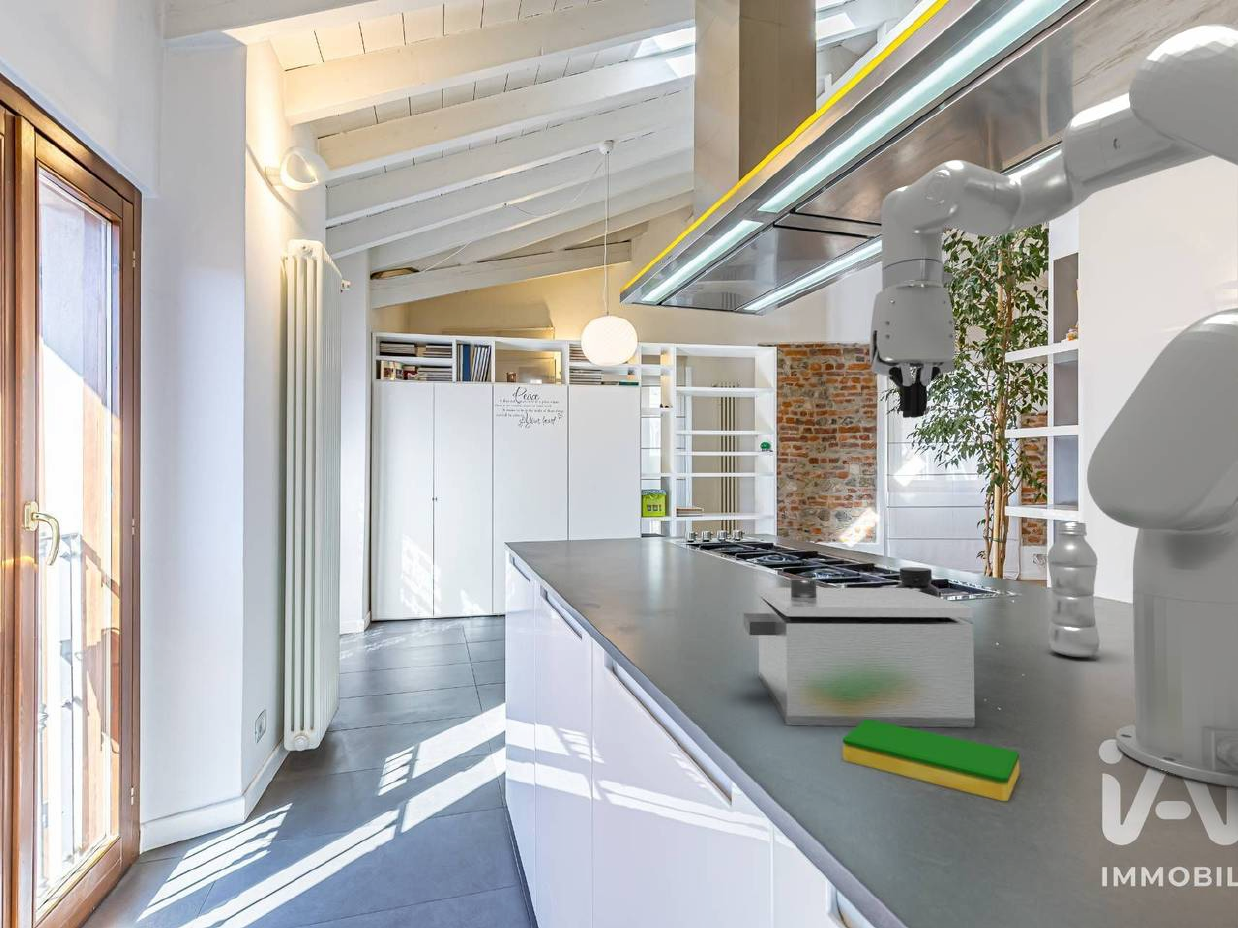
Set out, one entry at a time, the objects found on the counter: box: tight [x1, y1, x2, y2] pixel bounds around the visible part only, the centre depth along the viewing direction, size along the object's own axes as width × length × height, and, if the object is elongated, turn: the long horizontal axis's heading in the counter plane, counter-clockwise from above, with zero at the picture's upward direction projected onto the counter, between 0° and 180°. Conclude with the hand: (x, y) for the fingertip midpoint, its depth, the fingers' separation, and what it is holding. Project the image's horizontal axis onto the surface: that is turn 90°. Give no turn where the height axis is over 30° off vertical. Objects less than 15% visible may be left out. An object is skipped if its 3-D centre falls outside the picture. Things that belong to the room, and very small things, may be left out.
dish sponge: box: [842, 719, 1020, 802], centre depth 63 cm, size 7×14×2 cm, turn 52°
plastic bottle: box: [1046, 521, 1100, 658], centre depth 102 cm, size 6×7×20 cm
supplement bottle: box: [894, 566, 940, 598], centre depth 110 cm, size 7×7×12 cm
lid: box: [758, 578, 974, 618], centre depth 82 cm, size 18×20×3 cm
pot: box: [742, 595, 976, 728], centre depth 82 cm, size 18×26×11 cm
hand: (913, 416), depth 91 cm, fingers closed
